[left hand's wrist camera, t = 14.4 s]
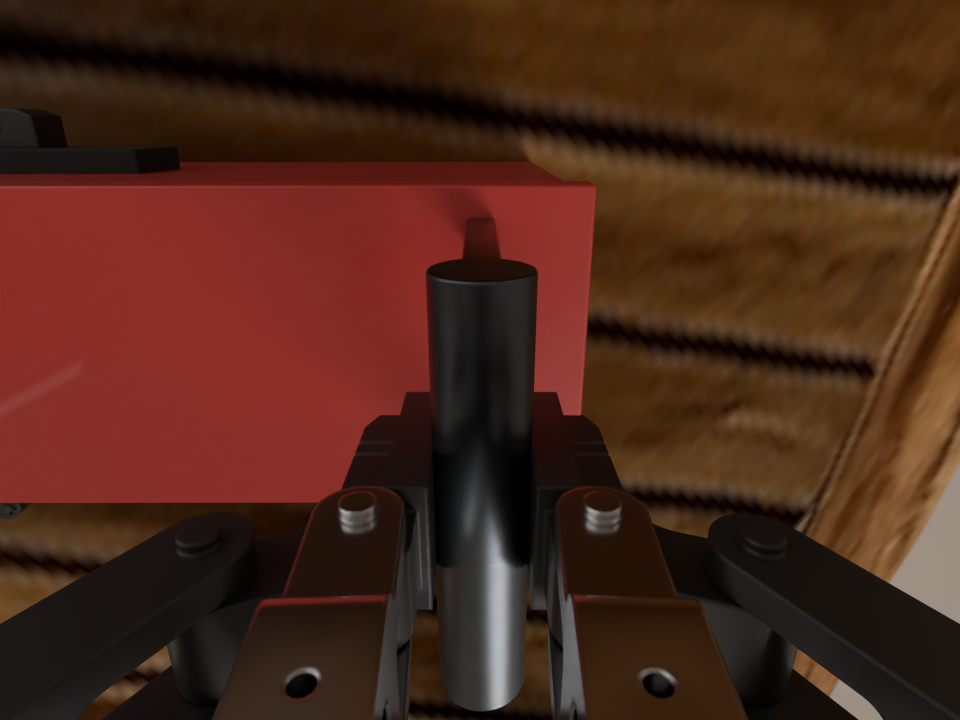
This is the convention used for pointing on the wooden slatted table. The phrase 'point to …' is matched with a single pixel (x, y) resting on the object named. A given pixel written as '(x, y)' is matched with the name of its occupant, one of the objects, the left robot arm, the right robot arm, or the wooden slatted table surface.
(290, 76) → the wooden slatted table surface
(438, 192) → the lid
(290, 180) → the chest
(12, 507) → the right robot arm
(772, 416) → the wooden slatted table surface
